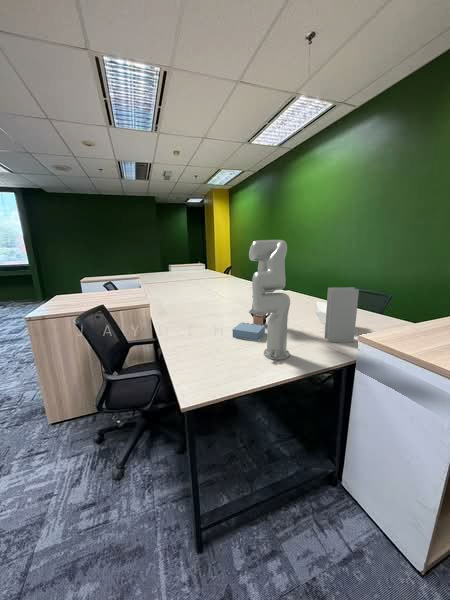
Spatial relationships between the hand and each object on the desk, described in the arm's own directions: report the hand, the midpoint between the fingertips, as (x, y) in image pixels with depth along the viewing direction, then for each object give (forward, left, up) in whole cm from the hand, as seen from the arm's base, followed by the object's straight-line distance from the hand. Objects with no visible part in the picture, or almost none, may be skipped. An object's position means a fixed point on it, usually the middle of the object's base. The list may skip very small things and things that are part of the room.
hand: (259, 323), depth 167 cm
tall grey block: (-9, -50, -1) cm, 51 cm away
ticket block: (-21, 0, -1) cm, 21 cm away
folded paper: (+16, -44, -1) cm, 47 cm away
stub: (0, 0, -1) cm, 1 cm away
